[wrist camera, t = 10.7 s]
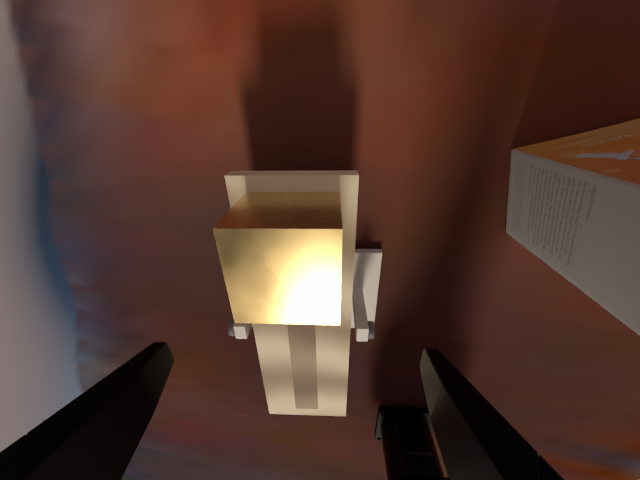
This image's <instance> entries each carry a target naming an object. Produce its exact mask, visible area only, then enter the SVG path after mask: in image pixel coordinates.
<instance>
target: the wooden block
mask: <svg viewBox="0 0 640 480" xmlns="http://www.w3.org/2000/svg"><path fill="white" fill-rule="evenodd" d="M213 232H214V236H215V240H216V245H217V249H218V253H219V257H220V262H221V266H222V270H223V275H224V279H225V283H226V288H227V292H228V296H229V301H230V305H231V309H232V314H233V318H234V322H235V323H256V324H308V325H340V306H341V271H342V237H343V226H342V214H341V202H340V192H246V193H245V194H244V195H243V196H242V197H241V198H240V199H239V200H238V202H237V203H236V204H235V205H234V206H233V207H232V208H231V209H230V210H229V211H228V212H227V214H226V215H225V216H224V217H223V218H222V219H221V220H220V221H219V222H218V223H217V224H216V226H215V227H214V228H213Z"/></svg>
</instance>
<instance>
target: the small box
mask: <svg viewBox="0 0 640 480" xmlns="http://www.w3.org/2000/svg"><path fill="white" fill-rule="evenodd" d="M506 232H507V233H508V234H509V235H510V236H512V237H513V238H514V239H515V240H517V241H518V242H519V243H521V244H522V245H523V246H524V247H526V248H527V249H528V250H530V251H531V252H532V253H533V254H535V255H536V256H537V257H539V258H540V259H541V260H542V261H544V262H545V263H546V264H548V265H549V266H550V267H552V268H553V269H554V270H555V271H557V272H558V273H559V274H561V275H562V276H563V277H564V278H566V279H567V280H568V281H570V282H571V283H572V284H574V285H575V286H576V287H578V288H579V289H580V290H582V291H583V292H584V293H585V294H587V295H588V296H589V297H590V298H592V299H593V300H594V301H596V302H597V303H598V304H600V305H601V306H602V307H603V308H605V309H606V310H607V311H608V312H610V313H611V314H612V315H614V316H615V317H616V318H618V319H619V320H620V321H621V322H623V323H624V324H625V325H627V326H628V327H629V328H631V329H632V330H633V331H635V332H636V333H637V334H638V335H640V118H638V119H634V120H631V121H627V122H623V123H619V124H615V125H611V126H608V127H603V128H599V129H595V130H591V131H587V132H583V133H579V134H575V135H571V136H566V137H562V138H558V139H554V140H549V141H545V142H541V143H536V144H532V145H527V146H523V147H518V148H514V149H513V150H512V151H511V160H510V175H509V191H508V203H507V219H506Z"/></svg>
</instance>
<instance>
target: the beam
mask: <svg viewBox="0 0 640 480" xmlns="http://www.w3.org/2000/svg"><path fill="white" fill-rule="evenodd" d="M225 181H226V186H227V192H228V197H229V202H230V207H231V208H232V207H233V206H234V205H235V204H236V203H237V202H238V200H239V199H240V198H241V197H242V196H243V195H244V194H245V193H246V192H340V202H341V214H342V226H343V237H342V271H341V306H340V325H308V324H256V323H252V324H253V329H254V335H255V340H256V345H257V350H258V356H259V361H260V366H261V372H262V377H263V382H264V387H265V393H266V398H267V403H268V409H269V414H292V415H322V416H346V402H347V384H348V366H349V348H350V330H351V312H352V294H353V276H354V258H355V240H356V222H357V204H358V186H359V173H358V171H357V170H334V171H230V172H229V173H228V174H226V175H225Z"/></svg>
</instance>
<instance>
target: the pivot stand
mask: <svg viewBox="0 0 640 480" xmlns="http://www.w3.org/2000/svg"><path fill="white" fill-rule="evenodd" d="M381 259H382V251H381V249H355V258H354V276H353V294H352V312H351V328H355V333H356V341H368V339H374V336H375V329H374V321H375V312H376V303H377V294H378V286H379V277H380V268H381ZM251 326H253V324H252V323H235V322H234V319H231V320H230V322H229V326H228V334H229V336H235V337H236V339H247V337H248V335H249V332H250V329H251Z"/></svg>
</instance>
